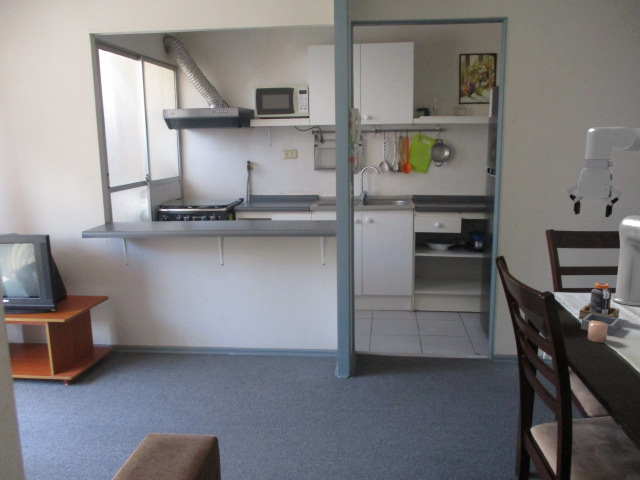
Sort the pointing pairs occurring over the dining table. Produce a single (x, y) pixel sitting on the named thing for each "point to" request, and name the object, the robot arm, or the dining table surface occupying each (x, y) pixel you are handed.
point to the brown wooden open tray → (585, 312)
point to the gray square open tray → (612, 322)
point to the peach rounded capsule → (597, 331)
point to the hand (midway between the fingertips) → (592, 215)
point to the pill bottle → (600, 299)
